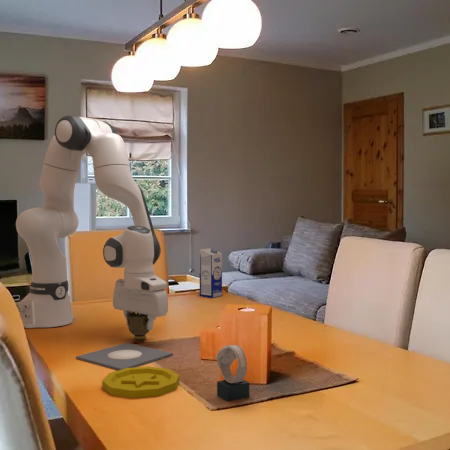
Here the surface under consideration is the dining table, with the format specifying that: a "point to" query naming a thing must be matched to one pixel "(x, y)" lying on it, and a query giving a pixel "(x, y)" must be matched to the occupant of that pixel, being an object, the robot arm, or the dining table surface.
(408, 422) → the dining table surface
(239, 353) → the watch
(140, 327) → the cup
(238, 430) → the dining table surface
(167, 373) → the decorative disc
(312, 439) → the dining table surface
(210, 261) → the milk carton
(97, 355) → the charcoal mat
